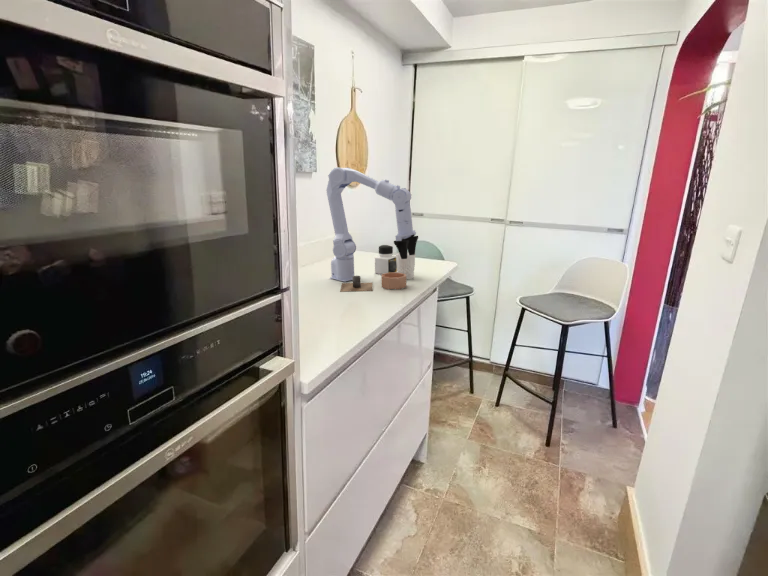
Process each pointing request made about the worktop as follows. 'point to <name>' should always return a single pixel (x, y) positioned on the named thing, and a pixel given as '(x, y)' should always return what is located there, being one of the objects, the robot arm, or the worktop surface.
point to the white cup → (406, 265)
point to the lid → (356, 286)
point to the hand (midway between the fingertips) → (408, 256)
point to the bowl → (393, 280)
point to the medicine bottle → (385, 260)
